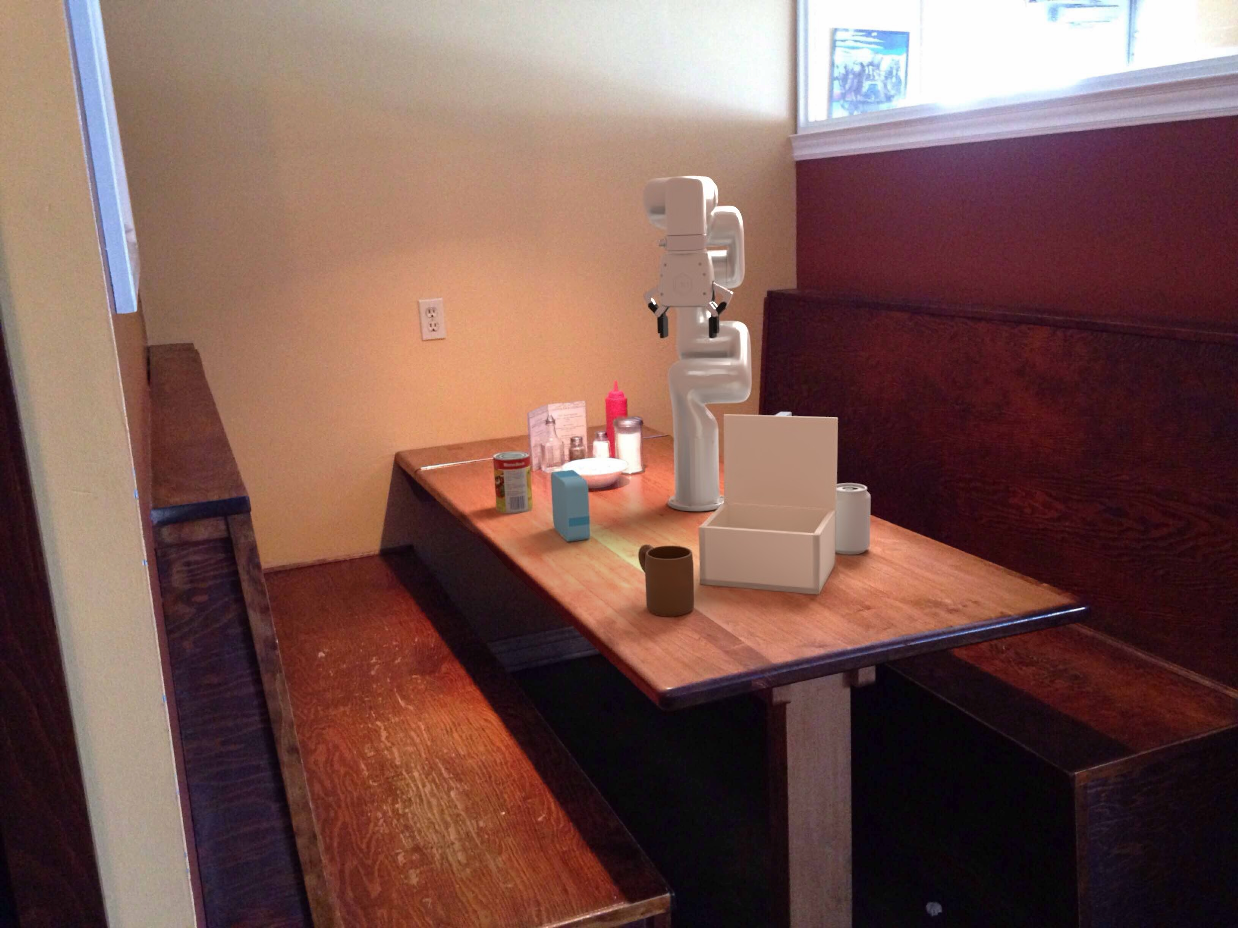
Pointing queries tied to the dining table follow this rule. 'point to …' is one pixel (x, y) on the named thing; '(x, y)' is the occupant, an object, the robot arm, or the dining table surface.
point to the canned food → (513, 482)
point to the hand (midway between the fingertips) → (688, 337)
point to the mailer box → (768, 547)
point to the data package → (570, 505)
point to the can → (852, 519)
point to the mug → (668, 579)
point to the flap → (780, 460)
